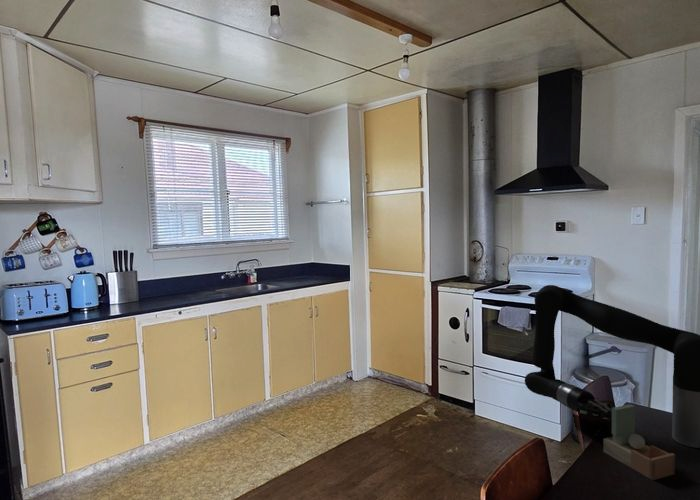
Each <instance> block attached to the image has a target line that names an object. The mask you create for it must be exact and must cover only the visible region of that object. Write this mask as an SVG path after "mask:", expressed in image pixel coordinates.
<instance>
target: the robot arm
mask: <svg viewBox="0 0 700 500" xmlns="http://www.w3.org/2000/svg"><path fill="white" fill-rule="evenodd" d="M534 309H535V331H534V332H535V334H534V340H533V348H532V357H531V361H532V362H531V363H532V364H533V366H535V367H536V368H538V369H539V368H540V371H532V372H529V373H527V374H526V375H525V377H524V383H525V384H524V385H525V387H526V388H527V389H528V391H530V392H532V393H534V394H536V395H540V396H543V397H547V398H551V399H553V400H555V401H556V402H559V403H560V404H562V405H563V406H565V407H567V408H569V409H571V410H572V411H575V412H576V413H579V415H580V416H581V417H586V418H592V419H597V420H602V419H604V420H609V421H611V422H612V408H614V407H616V406H615V405H614V403H613V401H610V400H609V401H607V402H603V401H602V400H599V399H596V397H595V396H594V394H592V393H591V392H590V391H587V390H585V389H583V388H581V387H579V386H576V385H574V384H571V383H568V382H565V381H563V380H561V379H558V378H556V373H555V367H554V359H555V358H554V357H555V348H556V347H555V346H556V343H555V339H556V338H555V328H556V322H557V318H558V316H559V315H558V314H559V312H563V313H566V314H569V315H572V316H575V317H577V318H578V319H580V320H582V321H584V322H585V323H586V324H588V325H590V327H593V328H595V329H596V330H597V331H600V332H603V333H605V334H608V335H610V336H614V337H616V338H619V339H622V340H627V341H631V342H638V343H641V344H642V343H644V344H648V345H652V346H655V347H658V348H660V349H662V350H665V351H667V352H668V353H669V352H670V353H671V354H673V374H672V410H671V411H672V412H671V413H672V414H671V419H672V420H671V438H672V439H673V440H674V441H676V442H677V443H678V444H682V445H683V446H687V447H691V448H696V449H700V334H698V333H695V332H691V331H687V330H684V329H683V330H682V329H679V328H676V327H671V326H668V325H664V324H660V323H659V322H656V321H654V320H651V319H649V318H646V317H643V316H641V315H638V314H635V313H633V312H631V311H628V310H625V309H622V308H618V307H616V306H613V305H609V304H605V303H603V302H601V301H600V302H599V301H596V300H594V299H593V300H592V299H590V298H587V297H583V296H580V295H578V294H576V293H574V292H571V291H570V290H567V289H565V288H562V287H560V286H557V285H554V284H548V285H544V286H542V287H541V288H540V289H539V290H538V291H537V292H536V293H535V295H534Z"/></svg>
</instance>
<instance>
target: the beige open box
mask: <svg viewBox="0 0 700 500" xmlns="http://www.w3.org/2000/svg"><path fill="white" fill-rule="evenodd" d="M602 442H603V447H602V448H603V449H602V450H603V451H602V452H603V453H605V454H607V455H608V456H610V457H611V458H613V459H615V460H617V461H619V462H620V463H622V464H624V465H626V466H627V467H629V468H631V450H635V451H636V452H638V453H640V454H642V455H644V456H646V457H648V458H649V459H650V452H651V446H649V445H646V444H645V446H644V447H643V448H642V449H635V448H633V447H632V446H631V445H630V444H629V443H627V444H622V445H620V444H618V443H616V442H614V441H613V436H610V437H605V438H603V441H602Z"/></svg>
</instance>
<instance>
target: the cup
mask: <svg viewBox="0 0 700 500" xmlns="http://www.w3.org/2000/svg"><path fill="white" fill-rule="evenodd" d="M650 447H651V452H650V459H649V458H648V457H646V456H644V455H642V454H640V453H638V452H636V451H635V450H631V467H630V468H631V469H632V470H634V471H636V472H637V473H639V474H641V475H642V476H645V477H646V478H648V479H650V480H651V481H655V480H659V479H663V478H667V477H670V476H673V475H676V471H675V470H676V454H675V453H673V452H672V453H670V452H667V451H666V450H663V449H661V448H659V447H657V446H655V445H650Z"/></svg>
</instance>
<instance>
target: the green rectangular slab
mask: <svg viewBox="0 0 700 500" xmlns="http://www.w3.org/2000/svg"><path fill="white" fill-rule="evenodd" d="M635 417H636V406H635V405H633V404H625V405H620V406H615V407H614V408H612V421H611V434H612V437H613V441H614V442H616V443H618V444H620V445H622V444H627V443H629V441H628V439H629V436H630V435H632V434H637V433H636V432H635V431H636V430H635V429H636V428H635V425H636V423H635V421H636V419H635Z"/></svg>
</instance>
